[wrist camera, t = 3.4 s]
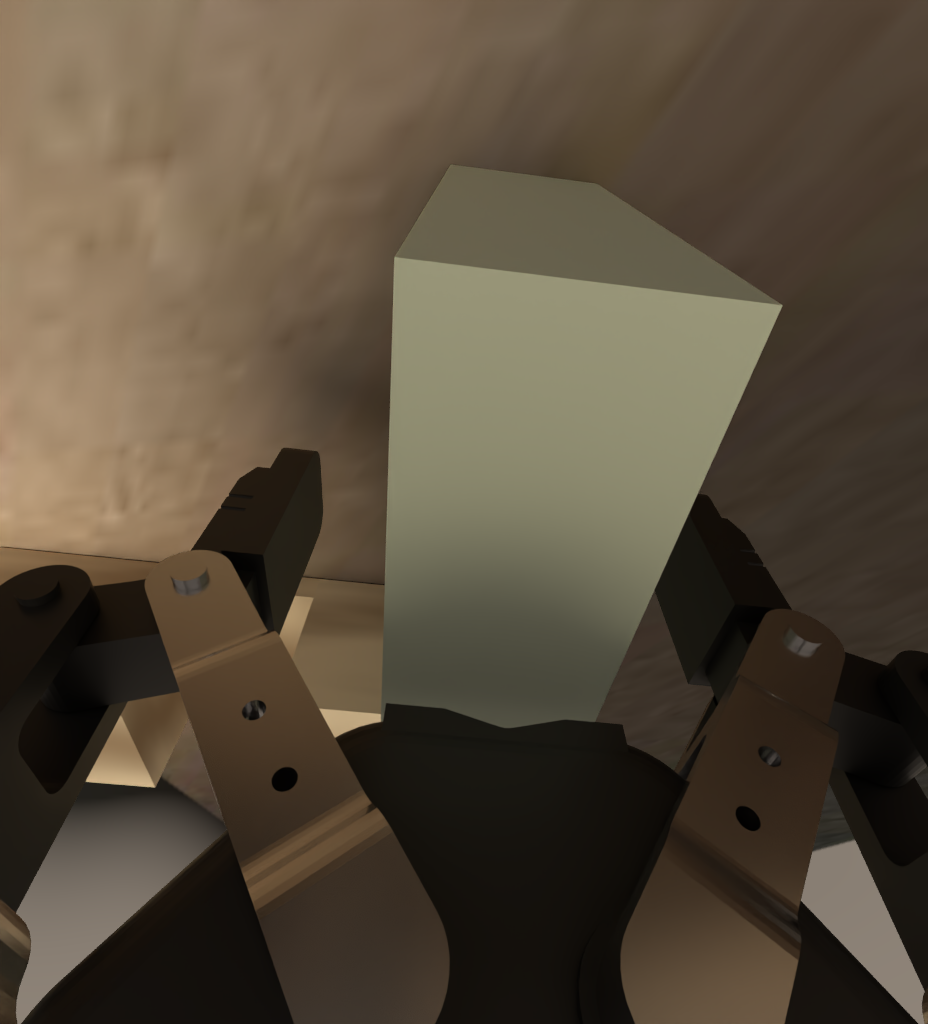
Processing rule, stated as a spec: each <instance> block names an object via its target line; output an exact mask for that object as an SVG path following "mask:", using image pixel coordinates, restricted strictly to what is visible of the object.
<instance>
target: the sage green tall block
mask: <svg viewBox="0 0 928 1024" xmlns="http://www.w3.org/2000/svg"><path fill="white" fill-rule="evenodd" d="M782 306H783V305H781V304H780V303H778V302H777V301H775V300H774V299H772V298H771V297H769V296H768V295H766V294H765V293H763V292H762V291H760V290H759V289H757V288H755V287H754V286H752V285H751V284H749V283H748V282H746V281H745V280H743V279H742V278H740V277H739V276H737V275H736V274H734V273H733V272H731V271H730V270H728V269H726V268H725V267H723V266H722V265H720V264H719V263H717V262H716V261H714V260H713V259H711V258H710V257H708V256H707V255H705V254H704V253H702V252H701V251H699V250H697V249H696V248H694V247H693V246H691V245H690V244H688V243H687V242H685V241H684V240H682V239H681V238H679V237H678V236H676V235H675V234H673V233H672V232H670V231H669V230H667V229H665V228H664V227H662V226H661V225H659V224H658V223H656V222H655V221H653V220H652V219H650V218H649V217H647V216H646V215H644V214H643V213H641V212H640V211H638V210H636V209H635V208H633V207H632V206H630V205H629V204H627V203H626V202H624V201H623V200H621V199H620V198H618V197H617V196H615V195H614V194H612V193H611V192H609V191H607V190H606V189H604V188H603V187H601V186H600V185H598V184H596V183H588V182H581V181H573V180H565V179H558V178H550V177H543V176H535V175H528V174H520V173H512V172H505V171H497V170H490V169H482V168H475V167H467V166H459V165H452V164H451V165H450V166H449V168H448V170H447V171H446V173H445V175H444V176H443V178H442V179H441V181H440V183H439V184H438V186H437V188H436V189H435V191H434V193H433V194H432V196H431V198H430V199H429V201H428V203H427V204H426V206H425V207H424V209H423V211H422V212H421V214H420V216H419V217H418V219H417V221H416V222H415V224H414V226H413V227H412V229H411V231H410V232H409V234H408V235H407V237H406V239H405V240H404V242H403V244H402V245H401V247H400V249H399V250H398V252H397V254H396V255H395V257H394V288H393V322H392V356H391V390H390V424H389V458H388V493H387V527H386V561H385V595H384V629H383V663H382V697H381V722H383V719H384V713H385V707H386V703H391V704H402V705H413V706H424V707H434V708H445V709H448V710H451V711H454V712H457V713H460V714H463V715H466V716H469V717H472V718H475V719H478V720H481V721H484V722H487V723H490V724H493V725H496V726H499V727H503V728H514V727H521V726H527V725H533V724H540V723H546V722H552V721H558V720H565V719H566V720H577V721H588V722H595V721H596V719H597V716H598V714H599V712H600V710H601V707H602V705H603V703H604V701H605V699H606V696H607V694H608V692H609V690H610V687H611V685H612V683H613V681H614V679H615V676H616V674H617V672H618V670H619V667H620V665H621V663H622V661H623V659H624V656H625V654H626V652H627V650H628V647H629V645H630V643H631V641H632V639H633V636H634V634H635V632H636V630H637V628H638V625H639V623H640V621H641V619H642V616H643V614H644V612H645V610H646V608H647V605H648V603H649V601H650V599H651V596H652V594H653V592H654V590H655V588H656V585H657V583H658V581H659V579H660V576H661V574H662V572H663V570H664V568H665V565H666V563H667V561H668V559H669V556H670V554H671V552H672V550H673V548H674V545H675V543H676V541H677V539H678V537H679V534H680V532H681V530H682V528H683V525H684V523H685V521H686V519H687V517H688V514H689V512H690V510H691V508H692V505H693V503H694V501H695V499H696V497H697V494H698V492H699V490H700V488H701V485H702V483H703V481H704V479H705V477H706V474H707V472H708V470H709V468H710V466H711V463H712V461H713V459H714V457H715V454H716V452H717V450H718V448H719V446H720V443H721V441H722V439H723V437H724V434H725V432H726V430H727V428H728V426H729V423H730V421H731V419H732V417H733V414H734V412H735V410H736V408H737V406H738V403H739V401H740V399H741V397H742V394H743V392H744V390H745V388H746V386H747V383H748V381H749V379H750V377H751V375H752V372H753V370H754V368H755V366H756V363H757V361H758V359H759V357H760V355H761V352H762V350H763V348H764V346H765V343H766V341H767V339H768V337H769V335H770V332H771V330H772V328H773V326H774V323H775V321H776V319H777V317H778V315H779V312H780V310H781V308H782Z"/></svg>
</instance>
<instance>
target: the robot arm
mask: <svg viewBox="0 0 928 1024" xmlns="http://www.w3.org/2000/svg"><path fill="white" fill-rule="evenodd" d="M322 517H323V500H322V483H321V465H320V456H319V453H318V452H317V451H310V450H301V449H292V448H283V449H282V450H281V451H280V453H279V455H278V456H277V458H276V460H275V461H274V463H273V465H272V466H271V468H262V467H256V468H255V469H253V470H252V471H250V472H249V473H247V474H246V475H244V476H243V477H241V478H240V479H239V480H238V481H237V483H236V484H235V486H234V487H233V489H232V490H231V492H230V493H229V497H227V498H226V499H225V501H224V502H223V503H222V505H221V509H218V511H217V512H216V514H215V515H214V517H213V518H212V520H211V521H210V523H209V524H208V526H207V527H206V529H205V530H204V532H203V533H202V535H201V536H200V538H199V539H198V541H197V542H196V544H195V545H194V547H193V548H192V550H191V551H186V552H182V553H178V554H176V555H173V556H171V557H168V558H166V559H165V560H163V561H161V562H160V563H158V564H157V565H156V566H155V567H154V568H153V569H152V570H151V571H150V572H149V574H148V575H147V577H146V579H143V580H137V581H130V582H122V583H114V584H106V585H98V586H93V584H92V582H91V580H90V577H89V576H88V574H87V573H86V572H85V571H84V570H82V569H80V568H78V567H74V566H70V565H49V566H43V567H38V568H35V569H31V570H28V571H26V572H23V573H21V574H18V575H16V576H14V577H12V578H11V579H9V580H7V581H6V582H4V583H3V584H2V585H0V1024H17V1018H16V1000H17V995H18V991H19V986H20V984H21V981H22V978H23V975H24V972H25V970H26V967H27V964H28V960H29V956H30V951H31V939H30V932H29V930H28V927H27V925H26V923H25V922H24V921H23V920H22V918H20V917H19V916H18V915H17V914H16V911H17V909H18V908H19V906H20V904H21V902H22V900H23V898H24V896H25V894H26V892H27V891H28V889H29V887H30V885H31V883H32V881H33V879H34V877H35V876H36V874H37V871H38V870H39V868H40V866H41V864H42V862H43V860H44V859H45V857H46V855H47V853H48V851H49V849H50V847H51V845H52V844H53V842H54V840H55V838H56V836H57V834H58V832H59V830H60V828H61V827H62V825H63V823H64V821H65V819H66V817H67V815H68V813H69V812H70V810H71V808H72V806H73V804H74V802H75V800H76V798H77V797H78V794H79V793H80V791H81V789H82V787H83V785H84V783H85V781H86V780H87V778H88V776H89V774H90V772H91V770H92V768H93V766H94V765H95V763H96V761H97V759H98V757H99V755H100V753H101V751H102V749H103V748H104V746H105V744H106V742H107V740H108V738H109V736H110V734H111V733H112V731H113V729H114V727H115V725H116V723H117V721H118V719H119V717H120V716H121V714H122V712H123V710H124V708H125V706H126V704H127V702H128V701H133V700H139V699H144V698H149V697H155V696H160V695H165V694H171V693H176V692H180V694H181V697H182V700H183V703H184V706H185V709H186V712H187V715H188V718H189V721H190V724H191V726H192V729H193V732H194V735H195V738H196V741H197V744H198V747H199V750H200V753H201V756H202V759H203V762H204V764H205V767H206V770H207V773H208V776H209V779H210V782H211V785H212V788H213V791H214V794H215V797H216V800H217V803H218V806H219V809H220V812H221V814H222V817H223V820H224V823H225V826H226V829H227V830H226V831H225V832H224V833H223V834H222V835H221V836H220V837H219V838H218V839H217V840H215V841H214V842H213V843H212V844H211V845H210V846H209V847H208V848H207V849H205V850H204V851H203V852H202V853H201V854H200V855H199V856H198V857H197V858H196V859H195V860H193V861H192V862H191V863H190V864H189V865H188V866H187V867H186V868H185V869H183V870H182V871H181V872H180V873H179V874H178V875H177V876H176V877H175V878H173V879H172V880H171V881H170V882H169V883H168V884H167V885H166V886H165V887H164V888H162V889H161V890H160V891H159V892H158V893H157V894H156V895H155V896H154V897H152V898H151V899H150V900H149V901H148V902H147V903H146V904H145V905H144V906H143V907H141V908H140V910H138V911H137V912H136V913H135V914H134V915H133V916H131V917H130V918H129V919H128V920H127V921H126V922H125V923H124V924H123V925H122V926H120V927H119V928H118V929H117V930H116V931H115V932H114V933H113V934H112V935H111V936H109V937H108V938H107V939H106V940H105V941H104V942H103V943H102V944H101V945H99V946H98V947H97V949H95V950H94V951H93V952H92V953H91V954H89V955H88V956H87V957H86V958H85V959H84V960H83V961H82V962H81V963H80V964H78V965H77V966H76V967H75V968H74V969H73V970H72V971H71V972H70V973H68V975H66V976H65V977H64V978H63V979H62V980H61V981H60V982H59V983H58V984H56V985H55V986H54V987H53V988H52V989H51V990H50V991H49V992H48V993H47V994H46V995H45V997H44V998H42V1000H41V1001H40V1002H39V1003H38V1004H37V1005H36V1006H35V1008H34V1009H33V1010H32V1011H31V1012H30V1013H29V1015H28V1016H27V1017H26V1018H25V1020H24V1021H23V1022H22V1023H21V1024H918V1023H917V1022H916V1021H915V1020H914V1019H913V1018H912V1017H911V1016H910V1014H909V1013H907V1011H906V1010H905V1009H904V1008H903V1007H902V1006H901V1005H900V1004H899V1003H898V1002H897V1001H896V1000H895V999H894V998H893V997H892V996H891V995H890V994H889V993H888V991H886V989H885V988H884V987H882V985H881V984H880V983H879V982H878V981H877V980H876V979H875V978H874V977H873V976H872V975H871V974H870V973H869V972H868V971H867V970H866V968H865V967H864V966H863V965H862V964H861V963H860V962H859V961H858V960H857V959H856V958H855V957H854V956H853V955H852V954H851V953H850V952H849V951H848V950H847V949H846V947H844V945H843V944H842V943H841V942H840V941H839V940H838V939H837V938H836V937H835V936H834V935H833V934H832V933H831V932H830V931H829V930H828V929H827V928H826V927H825V926H824V925H823V923H822V922H821V921H820V920H819V919H818V918H817V917H816V916H815V915H814V914H813V913H812V912H811V911H810V910H809V909H808V908H807V907H806V906H805V905H804V904H803V902H802V901H801V897H802V893H803V889H804V884H805V880H806V876H807V872H808V867H809V863H810V859H811V855H812V851H813V846H814V842H815V838H816V834H817V829H818V825H819V821H820V817H821V812H822V808H823V804H824V800H825V796H826V791H827V787H828V783H829V784H830V786H831V788H832V790H833V792H834V795H835V797H836V799H837V801H838V803H839V805H840V808H841V810H842V812H843V814H844V816H845V819H846V821H847V823H848V825H849V827H850V829H851V832H852V834H853V836H854V838H855V840H856V842H857V844H858V847H859V849H860V851H861V853H862V856H863V858H864V860H865V862H866V864H867V866H868V869H869V871H870V873H871V875H872V877H873V880H874V882H875V884H876V886H877V888H878V890H879V893H880V895H881V897H882V899H883V901H884V903H885V905H886V908H887V910H888V912H889V914H890V917H891V919H892V921H893V923H894V925H895V927H896V929H897V932H898V934H899V936H900V938H901V940H902V943H903V945H904V947H905V949H906V951H907V953H908V956H909V958H910V960H911V962H912V964H913V967H914V969H915V971H916V973H917V975H918V977H919V979H920V982H921V984H922V986H923V988H924V990H925V993H924V995H923V1001H922V1012H923V1018H924V1023H925V1024H928V799H927V798H926V796H925V794H924V793H923V791H922V789H921V788H920V786H919V784H918V782H917V781H916V779H915V776H916V775H917V774H918V773H919V772H921V771H922V770H923V769H924V768H925V767H928V653H924V652H920V651H903V652H901V653H899V654H898V655H897V656H896V657H895V658H894V659H893V660H892V661H891V662H890V663H889V664H888V666H885V665H882V664H879V663H876V662H873V661H870V660H867V659H864V658H861V657H858V656H855V655H852V654H849V653H847V652H845V650H844V648H843V645H842V644H841V642H840V640H839V639H838V638H837V637H836V635H835V634H834V633H833V632H832V631H831V630H830V629H829V628H827V627H826V626H825V625H824V624H822V623H821V622H819V621H818V620H816V619H814V618H812V617H810V616H808V615H806V614H804V613H801V612H798V611H794V610H792V609H791V607H790V606H789V604H788V603H787V601H786V599H785V598H784V596H783V595H782V593H781V591H780V590H779V588H778V586H777V585H776V583H775V582H774V580H773V578H772V577H771V575H770V574H769V572H768V570H767V569H766V567H763V562H762V561H761V559H760V558H759V556H758V554H757V553H755V549H754V548H753V546H752V545H751V543H750V541H749V540H748V538H747V537H746V535H745V534H744V533H743V532H742V531H741V530H740V529H739V528H737V527H736V526H735V525H734V524H733V523H732V522H730V521H729V520H728V519H725V518H721V516H720V515H719V513H718V511H717V509H716V508H715V506H714V504H713V503H712V501H711V499H710V498H709V497H708V496H707V495H703V494H697V497H696V499H695V501H694V503H693V505H692V508H691V510H690V512H689V514H688V517H687V519H686V521H685V523H684V525H683V528H682V530H681V532H680V534H679V537H678V539H677V541H676V543H675V545H674V548H673V550H672V552H671V554H670V556H669V559H668V561H667V563H666V565H665V568H664V570H663V572H662V574H661V576H660V579H659V581H658V583H657V585H656V588H655V592H656V595H657V598H658V601H659V603H660V606H661V609H662V612H663V615H664V617H665V620H666V623H667V626H668V629H669V631H670V634H671V637H672V640H673V643H674V645H675V648H676V651H677V654H678V656H679V659H680V662H681V665H682V668H683V670H684V673H685V676H686V679H687V682H688V684H693V685H703V686H711V687H712V690H713V692H714V695H713V697H712V698H711V700H710V701H709V703H708V704H707V706H706V708H705V710H704V712H703V714H702V716H701V718H700V720H699V722H698V724H697V726H696V728H695V730H694V732H693V734H692V736H691V738H690V740H689V742H688V744H687V746H686V748H685V750H684V752H683V754H682V756H681V758H680V760H679V762H678V764H677V766H676V768H675V769H674V770H672V769H671V768H670V767H668V766H667V765H665V764H664V763H663V762H661V761H660V760H658V759H656V758H654V757H653V756H651V755H649V754H648V753H646V752H643V751H641V750H639V749H637V748H635V747H632V746H630V745H627V743H626V738H625V734H624V729H623V725H621V724H610V723H599V722H588V721H577V720H566V719H565V720H558V721H552V722H546V723H540V724H533V725H527V726H521V727H514V728H503V727H499V726H496V725H493V724H490V723H487V722H484V721H481V720H478V719H475V718H472V717H469V716H466V715H463V714H460V713H457V712H454V711H451V710H448V709H445V708H434V707H424V706H413V705H402V704H391V703H386V707H385V713H384V719H383V722H377V723H371V724H368V725H364V726H361V727H357V728H355V729H352V730H350V731H348V732H345V733H343V734H341V735H339V736H337V737H334V735H333V733H332V732H331V730H330V728H329V726H328V724H327V722H326V721H325V719H324V717H323V715H322V713H321V711H320V709H319V708H318V706H317V704H316V702H315V700H314V698H313V697H312V695H311V693H310V691H309V689H308V687H307V685H306V684H305V682H304V680H303V678H302V676H301V674H300V673H299V671H298V669H297V667H296V665H295V663H294V661H293V660H292V658H291V656H290V654H289V652H288V650H287V649H286V647H285V645H284V643H283V641H282V639H281V638H280V636H279V635H280V633H281V630H282V628H283V625H284V622H285V620H286V617H287V615H288V612H289V610H290V607H291V605H292V602H293V600H294V597H295V594H296V592H297V589H298V587H299V584H300V582H301V579H302V577H303V574H304V572H305V569H306V566H307V564H308V561H309V559H310V556H311V554H312V551H313V549H314V546H315V543H316V541H317V538H318V536H319V533H320V529H321V524H322Z"/></svg>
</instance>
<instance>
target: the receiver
mask: <svg viewBox="0 0 928 1024" xmlns="http://www.w3.org/2000/svg"><path fill="white" fill-rule="evenodd" d="M157 564H158V563H155V562H144V561H134V560H124V559H114V558H104V557H94V556H84V555H74V554H64V553H54V552H44V551H34V550H24V549H14V548H3V547H0V585H2V584H3V583H4V582H6V581H7V580H9V579H11V578H12V577H14V576H16V575H18V574H21V573H23V572H26V571H28V570H31V569H35V568H38V567H43V566H49V565H70V566H74V567H78V568H80V569H82V570H84V571H85V572H86V573H87V574H88V576H89V577H90V580H91V582H92V584H93V586H98V585H106V584H114V583H122V582H130V581H137V580H143V579H146V577H147V575H148V574H149V572H150V571H151V570H152V569H153V568H154V567H155V566H156V565H157ZM384 595H385V585H376V584H366V583H356V582H346V581H336V580H326V579H316V578H306V577H302V579H301V582H300V584H299V587H298V589H297V592H296V594H295V597H294V600H293V602H292V605H291V607H290V610H289V612H288V615H287V617H286V620H285V622H284V625H283V628H282V630H281V633H280V635H279V636H280V638H281V639H282V641H283V643H284V645H285V647H286V649H287V650H288V652H289V654H290V656H291V658H292V660H293V661H294V663H295V665H296V667H297V669H298V671H299V673H300V674H301V676H302V678H303V680H304V682H305V684H306V685H307V687H308V689H309V691H310V693H311V695H312V697H313V698H314V700H315V702H316V704H317V706H318V708H319V709H320V711H321V713H322V715H323V717H324V719H325V721H326V722H327V724H328V726H329V728H330V730H331V732H332V733H333V735H334V737H337V736H339V735H341V734H343V733H345V732H348V731H350V730H352V729H355V728H357V727H361V726H364V725H368V724H371V723H377V722H381V697H382V663H383V629H384ZM188 719H189V718H188V715H187V712H186V709H185V706H184V703H183V700H182V697H181V694H180V692H176V693H171V694H165V695H160V696H155V697H149V698H144V699H139V700H133V701H128V702H127V704H126V706H125V708H124V710H123V712H122V714H121V716H120V717H119V719H118V721H117V723H116V725H115V727H114V729H113V731H112V733H111V734H110V736H109V738H108V740H107V742H106V744H105V746H104V748H103V749H102V751H101V753H100V755H99V757H98V759H97V761H96V763H95V765H94V766H93V768H92V770H91V772H90V774H89V776H88V778H87V780H86V781H85V782H96V783H108V784H120V785H132V786H144V787H156V785H157V783H158V781H159V779H160V776H161V774H162V772H163V770H164V768H165V766H166V764H167V762H168V760H169V758H170V756H171V754H172V752H173V750H174V748H175V746H176V743H177V741H178V739H179V737H180V735H181V733H182V731H183V729H184V727H185V725H186V723H187V721H188Z"/></svg>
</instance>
